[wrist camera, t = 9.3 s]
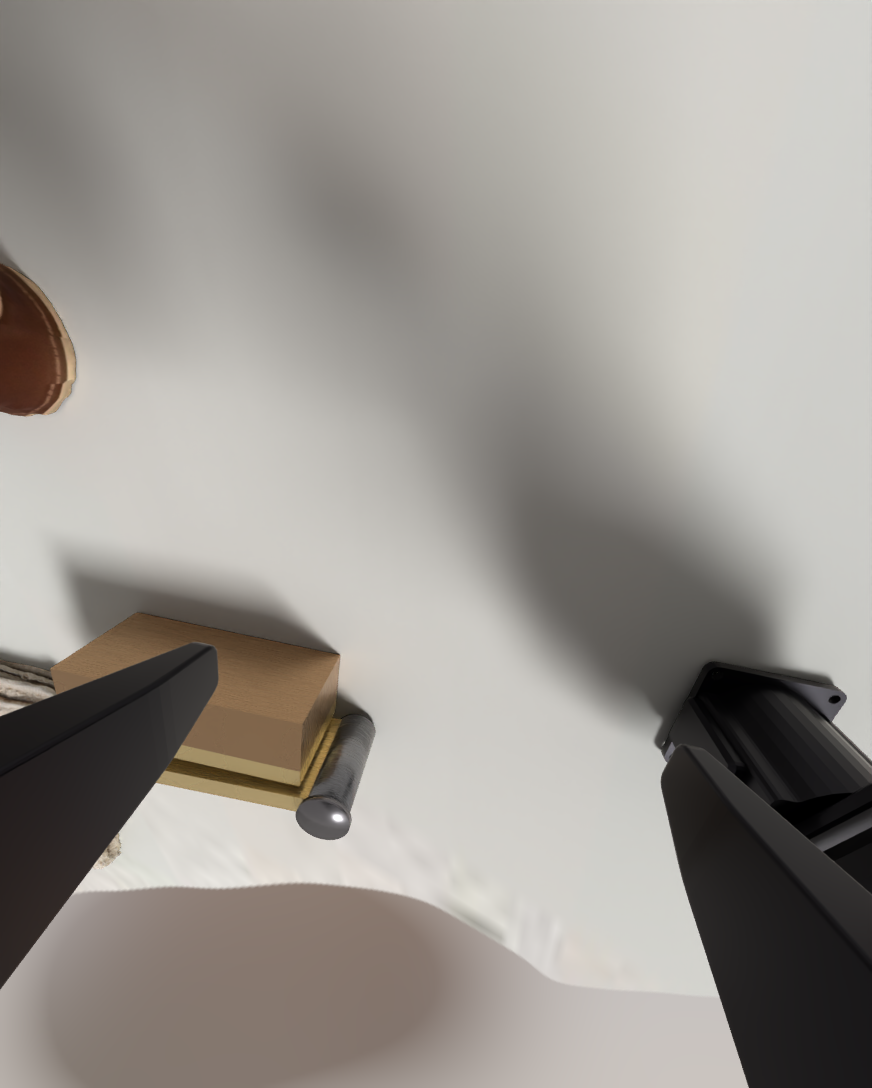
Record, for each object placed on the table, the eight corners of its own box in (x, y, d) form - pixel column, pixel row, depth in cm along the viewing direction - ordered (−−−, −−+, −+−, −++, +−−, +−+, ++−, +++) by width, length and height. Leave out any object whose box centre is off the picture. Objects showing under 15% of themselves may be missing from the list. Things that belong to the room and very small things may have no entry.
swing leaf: (380, 716, 24) (350, 807, 18) (377, 749, 25) (348, 844, 19) (140, 671, 25) (49, 746, 19) (146, 704, 25) (61, 784, 20)
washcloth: (103, 671, 26) (55, 707, 23) (133, 847, 33) (99, 891, 30) (-69, 632, 27) (-136, 662, 24) (-4, 813, 33) (-50, 853, 30)
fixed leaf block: (340, 655, 23) (302, 724, 18) (335, 709, 24) (299, 786, 20) (137, 612, 23) (49, 668, 19) (144, 668, 25) (65, 733, 20)
